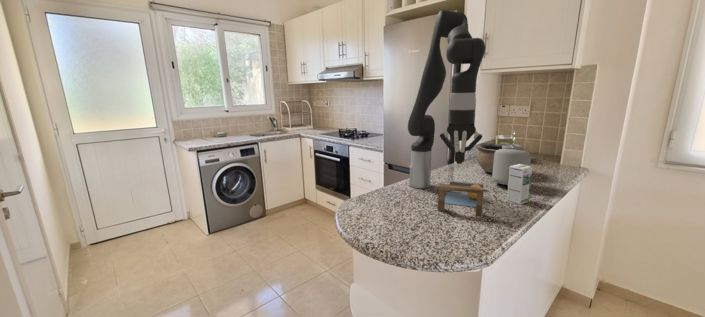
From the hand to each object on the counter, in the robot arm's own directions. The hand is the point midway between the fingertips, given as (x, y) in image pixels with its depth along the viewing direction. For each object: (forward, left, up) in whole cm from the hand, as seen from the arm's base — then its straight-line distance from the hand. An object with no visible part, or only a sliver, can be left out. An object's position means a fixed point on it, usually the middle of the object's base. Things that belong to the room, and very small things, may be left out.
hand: (459, 163), depth 93 cm
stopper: (0, +41, -21) cm, 46 cm away
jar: (+18, +53, -21) cm, 60 cm away
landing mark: (0, +25, -21) cm, 33 cm away
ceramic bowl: (+13, +74, -21) cm, 78 cm away
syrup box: (+20, +31, -21) cm, 43 cm away
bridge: (0, +11, -21) cm, 24 cm away
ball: (+4, +28, -18) cm, 33 cm away
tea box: (+17, +110, -21) cm, 113 cm away
